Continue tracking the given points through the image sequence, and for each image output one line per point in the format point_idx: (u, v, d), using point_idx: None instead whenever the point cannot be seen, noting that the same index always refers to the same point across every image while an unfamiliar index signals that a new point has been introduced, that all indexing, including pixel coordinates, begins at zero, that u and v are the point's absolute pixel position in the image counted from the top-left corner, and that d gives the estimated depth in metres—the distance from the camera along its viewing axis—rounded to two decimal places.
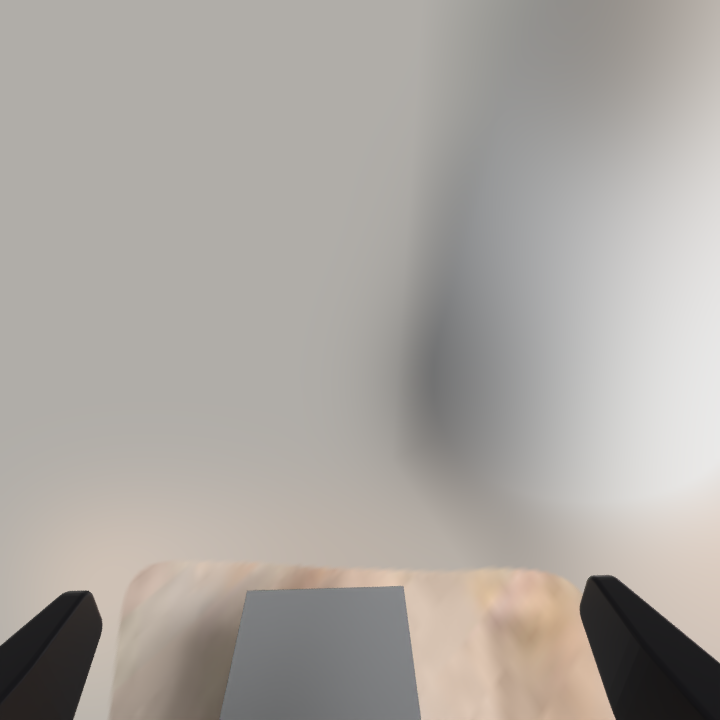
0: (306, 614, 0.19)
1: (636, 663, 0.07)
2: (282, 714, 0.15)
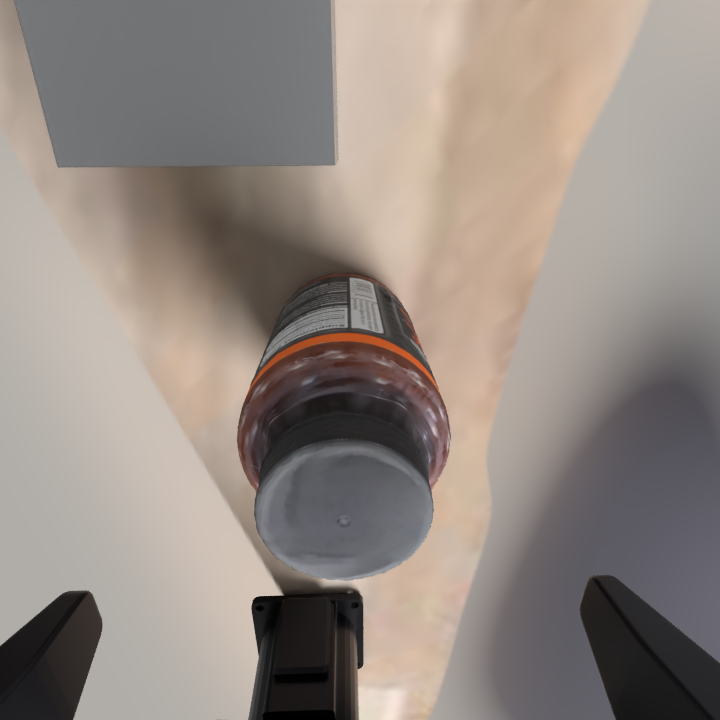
0: None
1: (636, 663, 0.07)
2: (127, 72, 0.10)
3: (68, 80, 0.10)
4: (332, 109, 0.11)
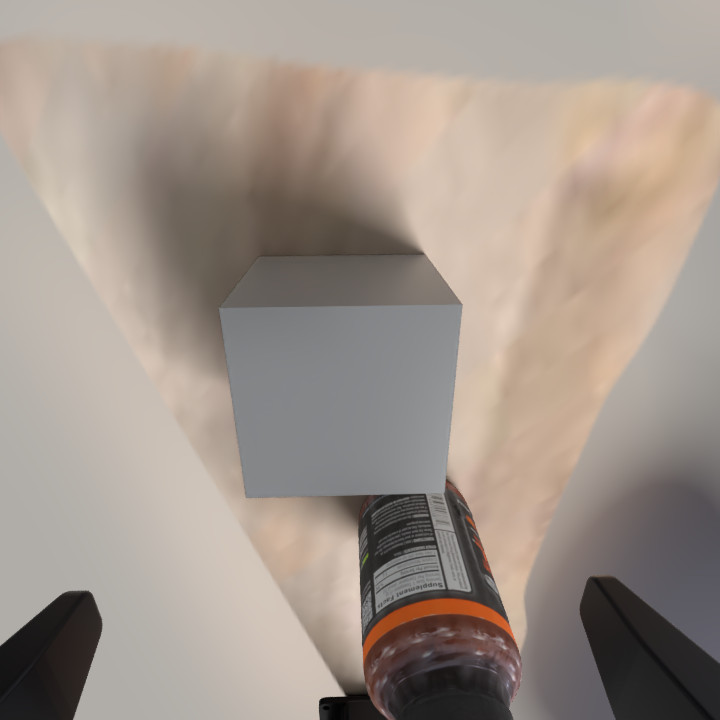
0: (316, 345, 0.13)
1: (636, 663, 0.07)
2: (304, 448, 0.15)
3: (263, 453, 0.15)
4: (446, 464, 0.15)
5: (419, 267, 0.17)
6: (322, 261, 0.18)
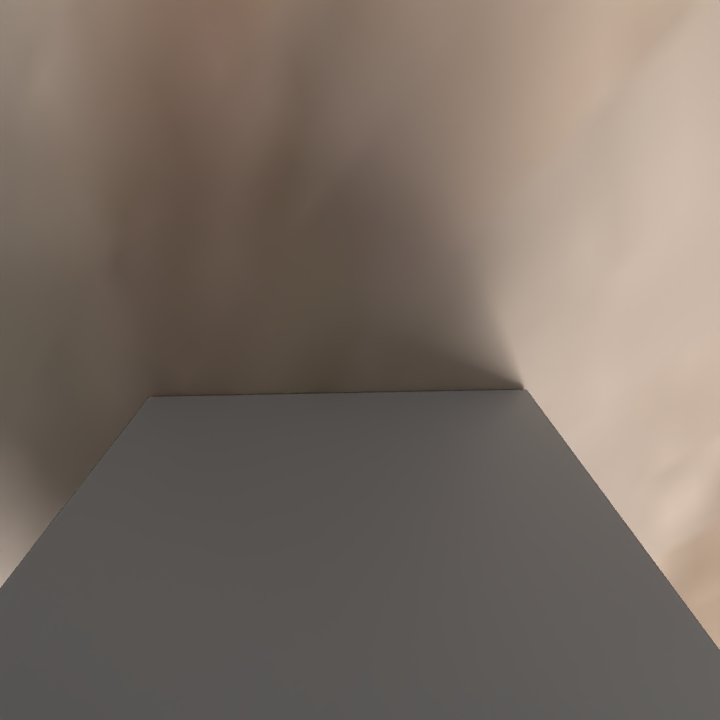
0: None
1: None
2: None
3: None
4: None
5: (542, 466, 0.06)
6: (290, 427, 0.07)
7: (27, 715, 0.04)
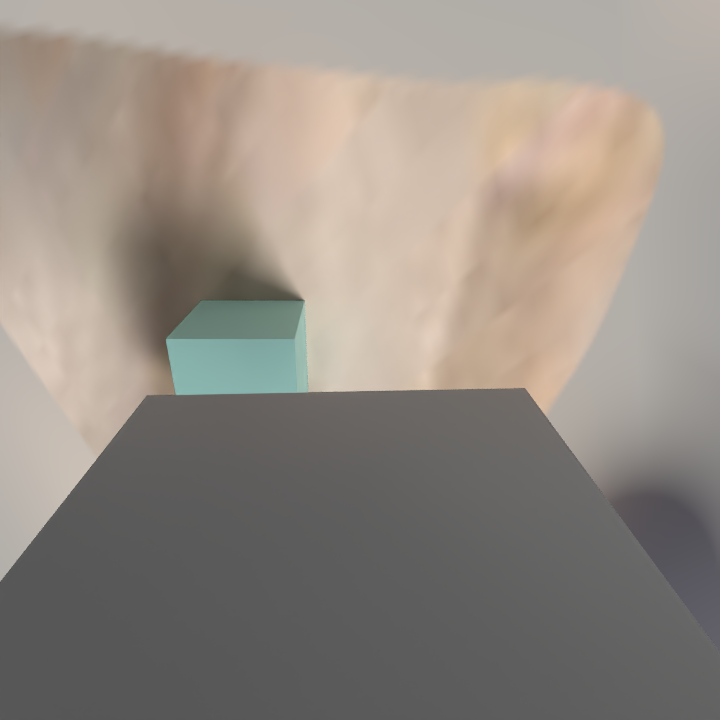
0: None
1: None
2: None
3: None
4: None
5: (540, 465, 0.06)
6: (288, 426, 0.07)
7: (22, 713, 0.04)
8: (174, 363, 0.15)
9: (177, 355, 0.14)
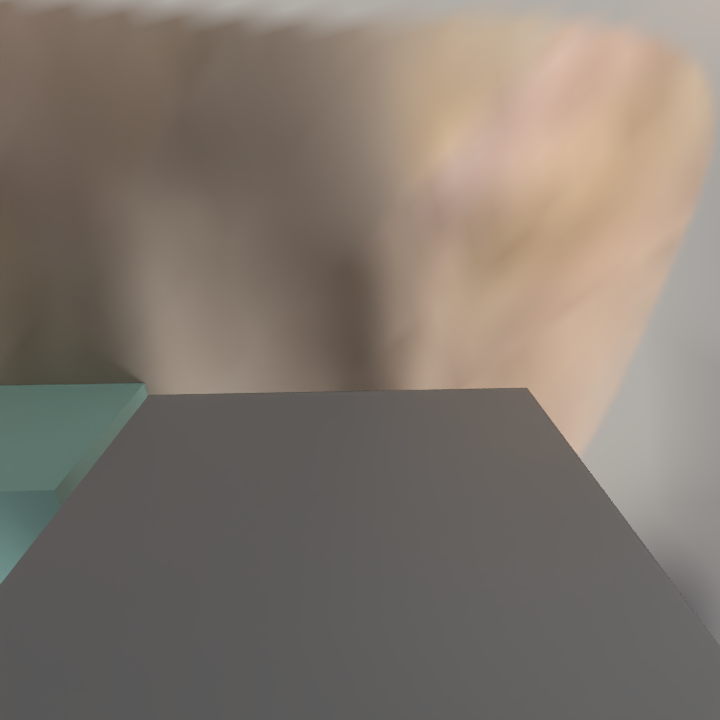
0: None
1: None
2: None
3: None
4: None
5: (543, 464, 0.06)
6: (290, 425, 0.07)
7: (25, 714, 0.04)
8: None
9: None
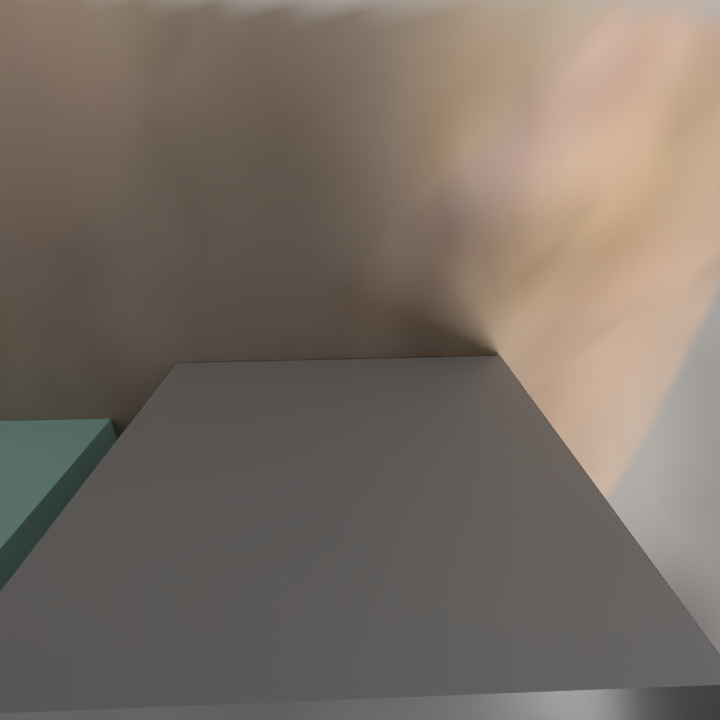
0: None
1: None
2: None
3: None
4: None
5: (506, 410, 0.08)
6: (298, 384, 0.09)
7: (113, 563, 0.05)
8: None
9: None
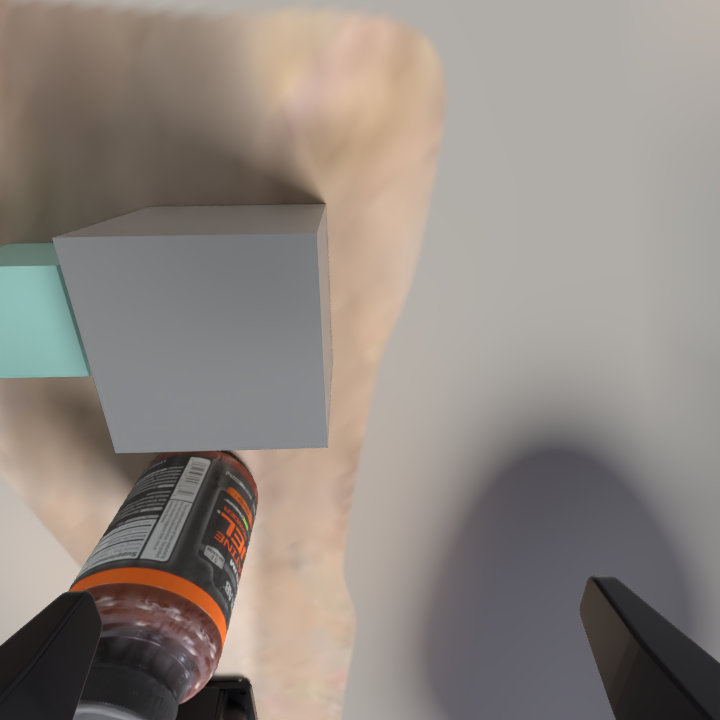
0: (165, 280, 0.12)
1: (636, 663, 0.07)
2: (170, 398, 0.14)
3: (126, 403, 0.14)
4: (325, 415, 0.14)
5: (307, 211, 0.16)
6: (210, 208, 0.17)
7: (116, 228, 0.13)
8: None
9: None
